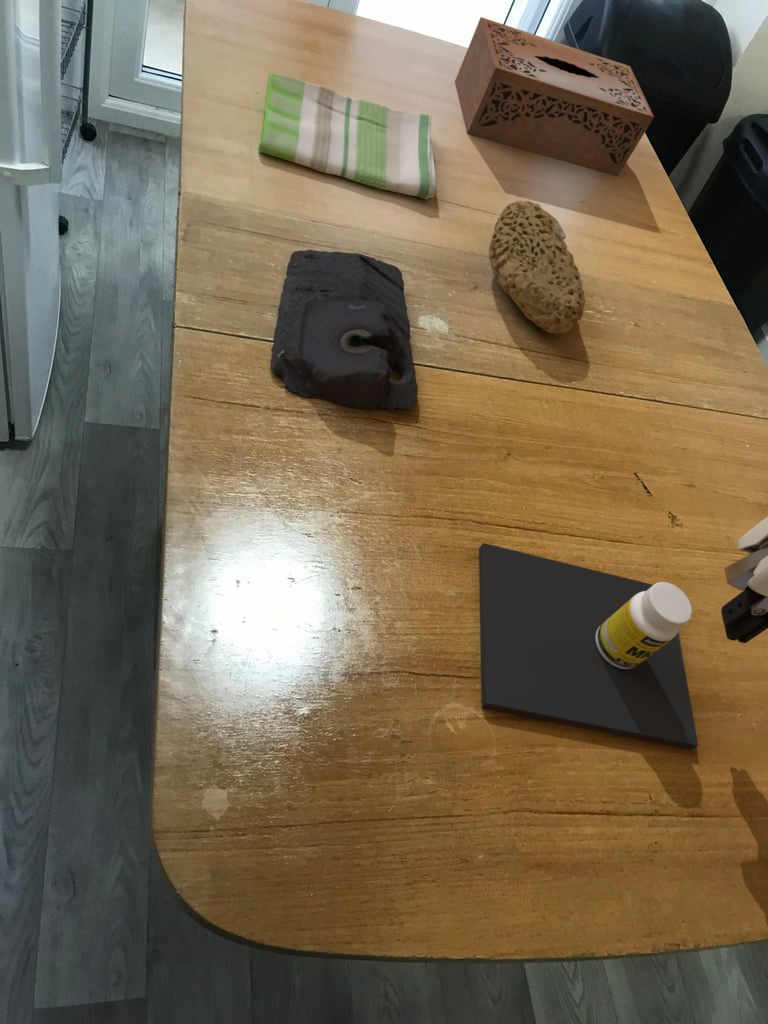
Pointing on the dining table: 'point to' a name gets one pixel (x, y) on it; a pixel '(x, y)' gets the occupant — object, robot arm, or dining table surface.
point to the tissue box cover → (550, 98)
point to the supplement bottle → (643, 625)
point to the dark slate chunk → (344, 331)
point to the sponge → (537, 267)
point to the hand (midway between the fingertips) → (732, 626)
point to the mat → (572, 652)
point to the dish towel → (348, 137)
